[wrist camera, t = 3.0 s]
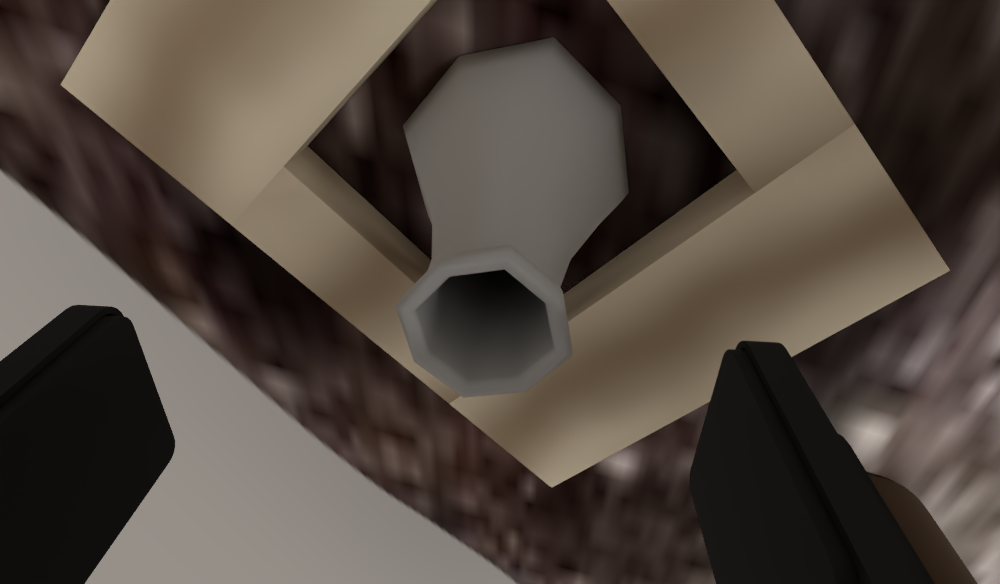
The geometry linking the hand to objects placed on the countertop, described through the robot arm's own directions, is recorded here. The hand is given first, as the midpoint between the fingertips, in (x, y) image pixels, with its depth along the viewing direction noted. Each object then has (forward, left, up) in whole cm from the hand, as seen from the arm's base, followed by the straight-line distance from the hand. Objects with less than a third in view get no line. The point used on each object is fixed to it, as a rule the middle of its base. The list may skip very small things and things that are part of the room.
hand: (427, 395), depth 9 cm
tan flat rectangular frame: (0, -1, -12) cm, 12 cm away
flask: (0, -1, -12) cm, 12 cm away
